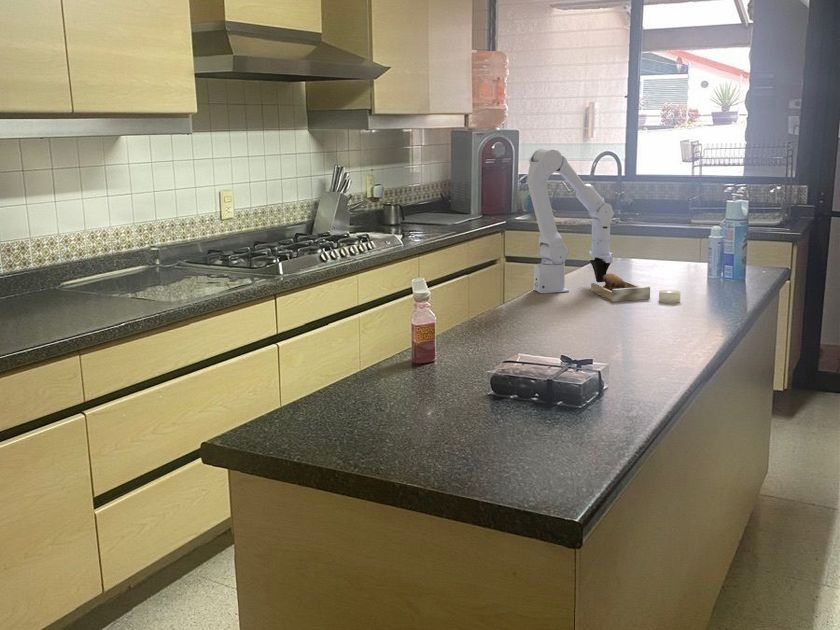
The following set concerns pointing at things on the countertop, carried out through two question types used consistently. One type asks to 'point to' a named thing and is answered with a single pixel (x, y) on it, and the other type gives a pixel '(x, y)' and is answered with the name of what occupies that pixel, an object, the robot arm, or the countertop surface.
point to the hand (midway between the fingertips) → (600, 281)
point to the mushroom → (613, 282)
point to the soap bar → (669, 296)
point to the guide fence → (623, 292)
